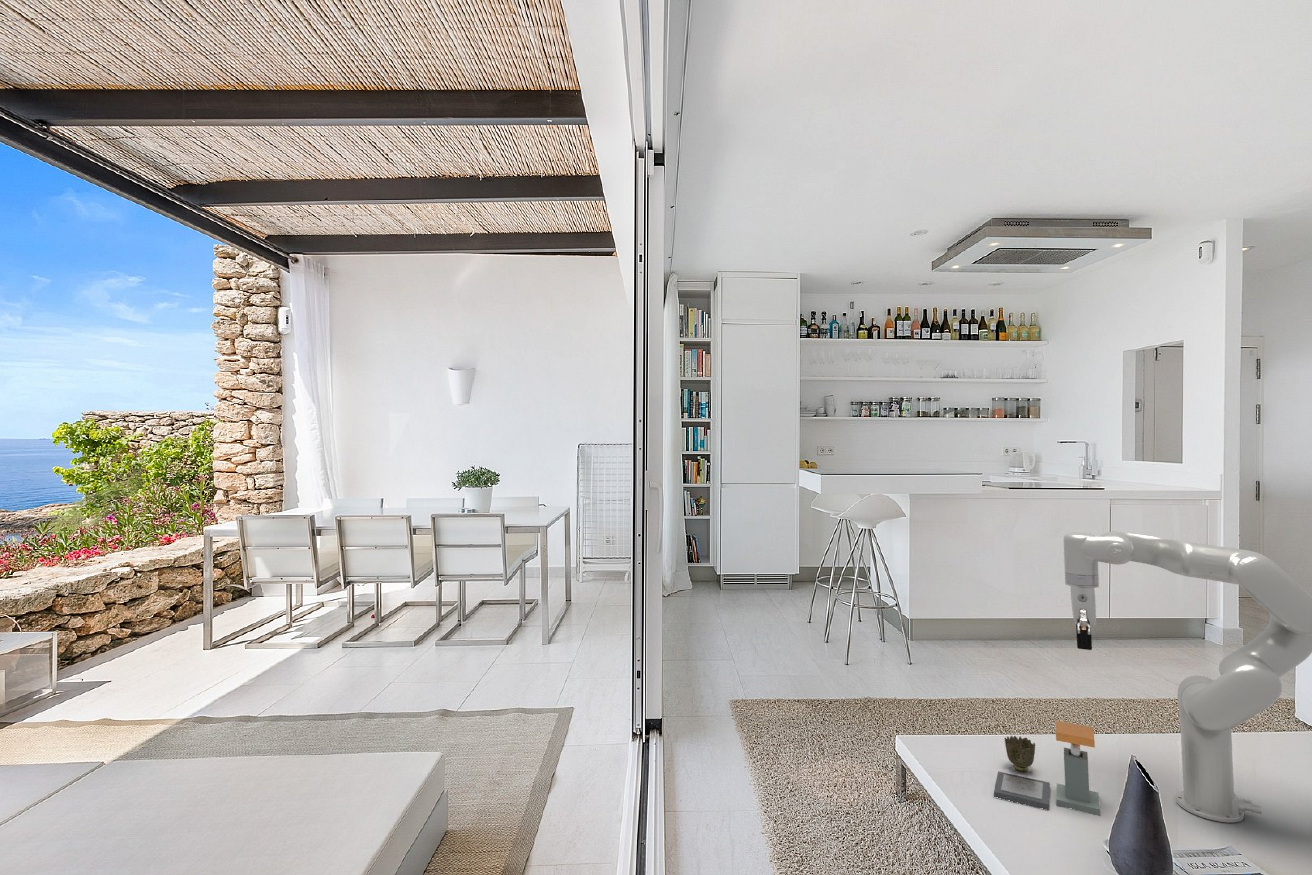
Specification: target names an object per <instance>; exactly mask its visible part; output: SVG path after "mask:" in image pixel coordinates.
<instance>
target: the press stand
mask: <svg viewBox="0 0 1312 875" xmlns="http://www.w3.org/2000/svg"><path fill="white" fill-rule="evenodd" d="M1080 756H1081V757H1077V756H1072V755H1071V748H1068V747H1063V763H1064V764H1063V765H1064V784H1061V783H1058V782H1057V783H1056V787H1055V788H1056V790H1055V791H1056V792H1055V795H1056V796H1055V804H1056V805H1057V806H1056V807H1061V808H1065V809H1069V808H1072V809H1071V810H1073V809H1075V810H1074V811H1078V810H1079V811H1078V812H1082V813H1086V812H1088V813H1087V814H1092V815H1095V816H1100V817H1101V806H1100V805H1101V804H1100V796H1099V795H1100V794H1099V791H1095V790H1090V780H1089V778H1090V777H1089V775H1090V774H1089V758H1088V757H1089V756H1088V751H1086V750H1084V751H1083V750H1080Z"/></svg>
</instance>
